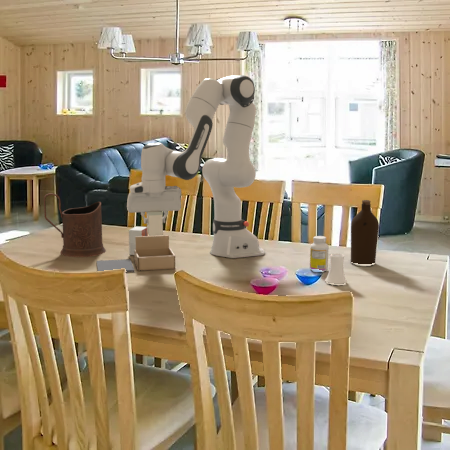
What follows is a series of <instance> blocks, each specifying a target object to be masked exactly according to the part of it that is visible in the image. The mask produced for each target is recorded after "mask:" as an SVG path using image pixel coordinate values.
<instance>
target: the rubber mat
mask: <svg viewBox="0 0 450 450" xmlns="http://www.w3.org/2000/svg"><path fill="white" fill-rule="evenodd" d="M121 268H125V269H126V271H127V272H126V273H135V268H134V265H133V263H132V259H131V258H127V259H125V258H124V259H106V260H105V259H104V260H96V269H97V272H98V271H104V270H113V269H121Z"/></svg>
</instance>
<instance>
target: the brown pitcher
mask: <svg viewBox="0 0 450 450" xmlns="http://www.w3.org/2000/svg"><path fill="white" fill-rule="evenodd" d="M48 196H54V197H56V198H57V199H58V210H59V213H60V218H61V220H62V230H61V229H60V228H59V227H58V226H56V225H55V224H54V223H53V222H52V221H51V220H50V219H49V218H48V217H47V208H46V207H47V206H46V204H47V203H46V202H47V201H46V198H47V197H48ZM61 208H62V205H61V198H60V196H59V195H58V194H56V193H46V194H45V195H44V196H43V213H44V219H45V220H46V221H47V222H48V223H49V224H51V226H52V227H54V228H55V229H56V230H57V231H58V232H60V235H61V238H62V239H63V241H62V242H63V243H62V244H63V245H62V248H61V251H60V255H62V256H65V257H69V258H70V257H71V258H88V257H95V256H100V255H103V254H105V253H106V252H107V251H106V248H105V246H104V243H103V223H102V219H103V218H102V217H103V216H102V202H101V201H97V202H94V203H92V204H91V205H87V206H83V207H74V208H68V209H66V210H64V211H62V209H61Z"/></svg>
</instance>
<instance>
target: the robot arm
mask: <svg viewBox="0 0 450 450" xmlns="http://www.w3.org/2000/svg"><path fill="white" fill-rule="evenodd" d="M255 93H256V85H255V83H254V80H253V79H252V78H251V77H249V76H247V75H243V74H239V75H227V76H225V77H220V78H216V79H215V78H211V77H210V78H204V79H203V80H202V81H200V83H199V85H197V87H196V88H195V90H194V92H193V93H192V95H191V97H190V99H189V100H188V101H187V104H186V107H185V111H184V116H185V119H186V120H187V122H188V123H189V124H190V125H191V126H192V127H193V132H192V135H191V138H190V140H189V143H188V145H187V148H186V149H185V150H183V151H178V150H174V149H172V148H169V147H167V146H165V145H164V144H163V143H162V142H149V143H147V144H145V145H144V146H142V149H141V153H140V154H141V155H140V166H141V167H140V168H141V172H142V174H141V182H140V181H139V182H137V183H134V184H132V185H129V191H130V192H129V193H128V195H127V200H126V201H127V202H126V209H127V211H128V213H130V214H133V213H140V215H141V217H142V219H143V223H144V224H146V225H147V224H148V218H147V217H145V215H146V213H147V212H148V211H162V212H163V215H162V222H163V224H165V223H166V218H167V216H168V215H169V211H170V212H174V211H181V208H182V201H181V196H182V188H180V187H179V186H177V185H172V186H171V185H166V176H171V177H174V178H178V179H181V180H185V181H190V180H192V179H194V178H195V177H196V176H197V175H198V173H199V172H200V169H201V168H200V167H201V162H202V159H203V158H202V157H203V154H204V151H205V149H206V147H207V144H208V140H209V138H210V135H211V133H212V129H213V126H214V125H213V119H214V116H215V114H216V112H217V111H218V108H219V106H220V105H222V106H223V105H224V106H225V105H227V106H228V108H229V114H228V117H227V120H226V121H227V122H226V125H225V129H224V133H223V137H222V144H223V146H224V147H225V148H226V150H227V151H226V153H227V157H226V158H222V157H215V158H210V159H207V160H206V161H205V162H204V163H203V165H202V170H201V171H202V173H201V174H202V177H203V178H204V179H205V181H206V182H207V184H208V185H209V188H210V190H211V193H212V196H213V197H212V198H213V204H214V207H213V208H214V210H213V211H214V219H213V221H212V222H213V223H212V232H213V237H212V238H213V240H212V243H211V247H210V248H211V250H210V252H209V253H210V254H211V255H213V256H217V257H224V258H225V257H226V258H228V259H236V258H237V259H238V258H247V257H257V256H264V255H265V253H266V252H265V249H264V248H262V247H261V246H260V242H259V239H258V237H257V236H256V235H255V234H253V233H252V232H251V231H250V230H248V229H247V228H248V227H249V226H250V223H249V221H246V220H244V219H242V200H241V198H240V197H239V196H238V195H237V194H236V191H235V188H236V189H237V188H241V189H242V188H247V187H250V186H251V185H252V184H253V183H254V181H255V179H256V173H257V172H256V169H255V167H254V165H253V164H252V161H251V157H250V146H251V140H252V135H253V131H254V128H255V127H254V126H255V123H256V114H257V112H256V111H257V109H256V108H257V107H256V105H255V103H254V100H255ZM246 227H247V228H246Z"/></svg>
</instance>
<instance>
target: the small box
mask: <svg viewBox="0 0 450 450" xmlns="http://www.w3.org/2000/svg"><path fill="white" fill-rule="evenodd" d="M142 236H149V234H148V232H147V226H134V227H132V228H130V229H129V230H128V246H129V247H128V252H129V256H135V254H134V249H136V239H135V237H142Z"/></svg>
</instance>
